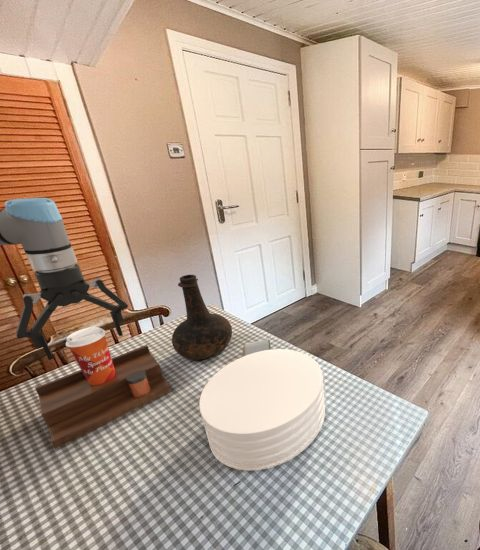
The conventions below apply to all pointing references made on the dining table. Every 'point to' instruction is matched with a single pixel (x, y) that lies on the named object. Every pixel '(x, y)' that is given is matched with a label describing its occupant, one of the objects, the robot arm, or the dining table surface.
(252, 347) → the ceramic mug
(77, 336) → the paper cup
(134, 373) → the small spice jar
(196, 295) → the glass bottle
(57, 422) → the spice rack
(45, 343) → the robot arm
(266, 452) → the plate stack
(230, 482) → the dining table surface
